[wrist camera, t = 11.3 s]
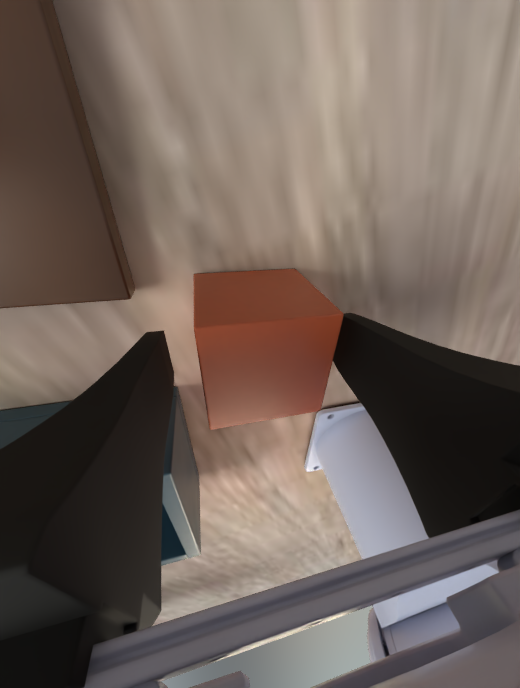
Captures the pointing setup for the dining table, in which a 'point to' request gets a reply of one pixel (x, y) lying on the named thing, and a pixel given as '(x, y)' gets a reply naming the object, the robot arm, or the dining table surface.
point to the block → (262, 344)
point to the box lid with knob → (50, 174)
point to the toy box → (177, 477)
